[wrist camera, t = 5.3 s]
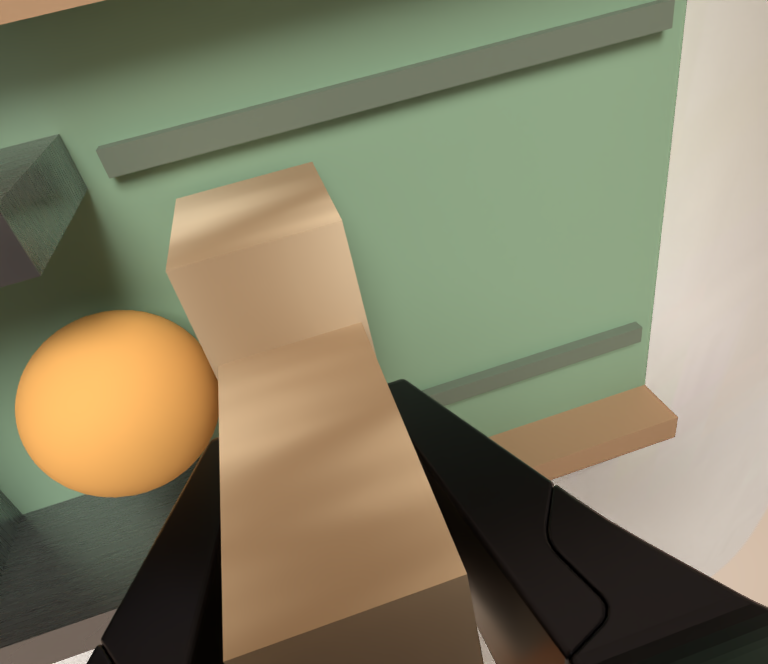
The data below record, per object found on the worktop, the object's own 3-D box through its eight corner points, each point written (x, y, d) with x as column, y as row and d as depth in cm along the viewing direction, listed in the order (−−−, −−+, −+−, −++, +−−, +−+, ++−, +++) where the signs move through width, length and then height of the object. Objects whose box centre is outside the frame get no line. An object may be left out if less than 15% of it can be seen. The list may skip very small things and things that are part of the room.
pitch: (669, -192, 10) (783, -229, 8) (623, 384, 18) (674, 436, 16) (-421, 53, 8) (-621, 82, 6) (63, 571, 16) (43, 656, 14)
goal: (59, 133, 10) (-5, 205, 7) (236, 475, 15) (242, 596, 12) (-319, 230, 9) (-562, 353, 6) (4, 551, 14) (-47, 698, 11)
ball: (147, 374, 8) (-78, 418, 8) (230, 519, 10) (47, 551, 10) (197, 260, 11) (28, 294, 11) (254, 391, 13) (110, 418, 13)
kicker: (311, 161, 11) (457, 443, 4) (374, 393, 14) (503, 735, 8) (176, 198, 10) (123, 555, 4) (273, 426, 14) (324, 806, 8)
